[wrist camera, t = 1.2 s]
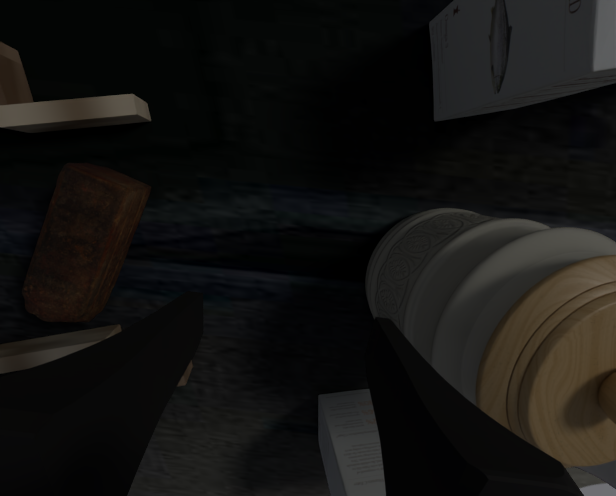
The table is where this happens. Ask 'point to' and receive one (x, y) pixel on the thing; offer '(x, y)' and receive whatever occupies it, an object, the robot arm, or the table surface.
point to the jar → (510, 321)
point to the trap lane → (51, 117)
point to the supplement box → (519, 53)
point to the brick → (83, 242)
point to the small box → (350, 444)
